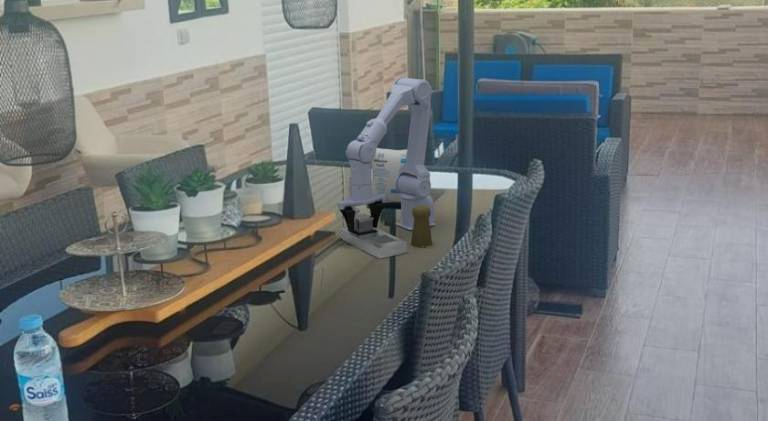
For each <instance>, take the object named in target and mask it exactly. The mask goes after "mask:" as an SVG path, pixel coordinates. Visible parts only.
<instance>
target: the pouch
mask: <svg viewBox="0 0 768 421" xmlns="http://www.w3.org/2000/svg"><path fill="white" fill-rule="evenodd" d="M427 146H428V145H426V149H427ZM406 156H407V149H392V148H391V149H390V148H379V147H377V149H376V154H375V157H374V159H373V160H372V161H371V174H372V195H376V194H384V195H385V197H386V201H385V202H384V204H385V203H401V196H399V192H398V191H397V190H396V188H395V181H396V178H397V176H398V174H399V169H400V168H401V167H402V166H403V165H405V164H406ZM411 175H414V174H411Z"/></svg>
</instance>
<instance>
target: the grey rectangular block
mask: <svg viewBox="0 0 768 421" xmlns="http://www.w3.org/2000/svg"><path fill="white" fill-rule="evenodd" d="M370 233H373V217H372V216H371V215H369V214H367V213H365V212H364V213H360V214H359V213H358V214H357V215H355V218H354V234H356V235H358V236H360V235H365V234H370Z"/></svg>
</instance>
